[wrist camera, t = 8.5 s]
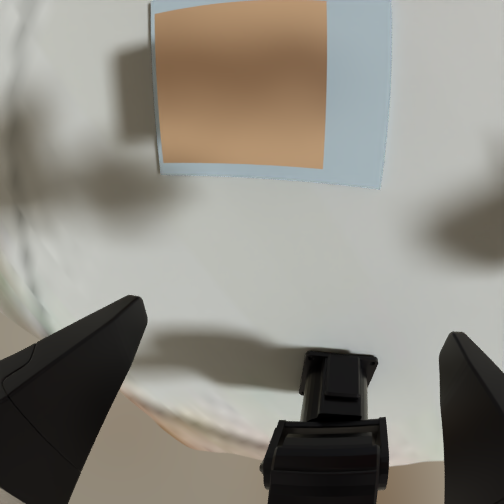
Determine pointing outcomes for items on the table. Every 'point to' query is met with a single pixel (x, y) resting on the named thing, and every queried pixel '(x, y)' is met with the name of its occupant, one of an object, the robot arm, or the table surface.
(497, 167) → the table surface
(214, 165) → the mat
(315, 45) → the light brown block
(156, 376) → the table surface
